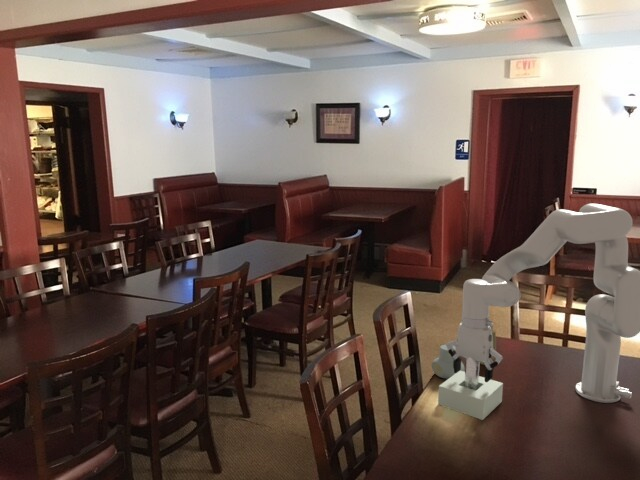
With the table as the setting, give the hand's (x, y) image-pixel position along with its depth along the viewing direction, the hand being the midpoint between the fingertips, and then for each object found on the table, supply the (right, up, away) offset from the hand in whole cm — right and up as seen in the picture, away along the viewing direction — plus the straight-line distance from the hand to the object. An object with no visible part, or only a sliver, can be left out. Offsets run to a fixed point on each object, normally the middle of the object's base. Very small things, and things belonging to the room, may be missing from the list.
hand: (472, 376), depth 161 cm
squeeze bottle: (+13, -3, +31) cm, 33 cm away
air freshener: (-3, -5, +20) cm, 21 cm away
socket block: (0, -9, +2) cm, 9 cm away
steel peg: (0, -7, +1) cm, 7 cm away
